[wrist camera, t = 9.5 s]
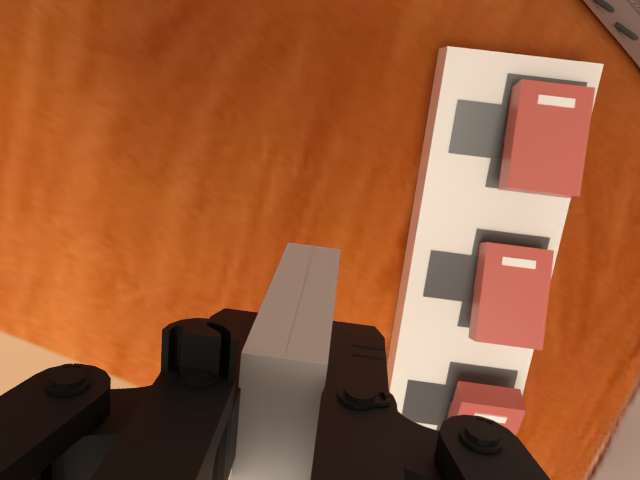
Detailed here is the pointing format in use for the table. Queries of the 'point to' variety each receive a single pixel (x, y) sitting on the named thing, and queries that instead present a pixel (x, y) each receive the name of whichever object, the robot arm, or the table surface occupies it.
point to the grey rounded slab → (621, 22)
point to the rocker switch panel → (467, 228)
